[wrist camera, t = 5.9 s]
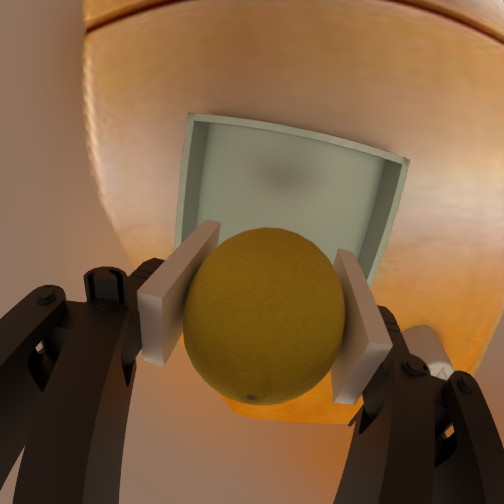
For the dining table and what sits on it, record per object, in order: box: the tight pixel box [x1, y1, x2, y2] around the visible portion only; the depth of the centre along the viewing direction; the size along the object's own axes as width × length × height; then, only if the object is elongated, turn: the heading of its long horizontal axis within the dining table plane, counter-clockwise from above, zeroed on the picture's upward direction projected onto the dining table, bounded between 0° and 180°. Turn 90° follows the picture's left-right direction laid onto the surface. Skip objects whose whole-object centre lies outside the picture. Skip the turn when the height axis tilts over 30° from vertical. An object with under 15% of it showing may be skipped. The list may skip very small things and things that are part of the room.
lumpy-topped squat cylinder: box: [402, 325, 454, 380], centre depth 29 cm, size 10×13×9 cm
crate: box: [174, 113, 410, 288], centre depth 26 cm, size 21×18×5 cm
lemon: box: [183, 227, 346, 405], centre depth 10 cm, size 6×6×8 cm
